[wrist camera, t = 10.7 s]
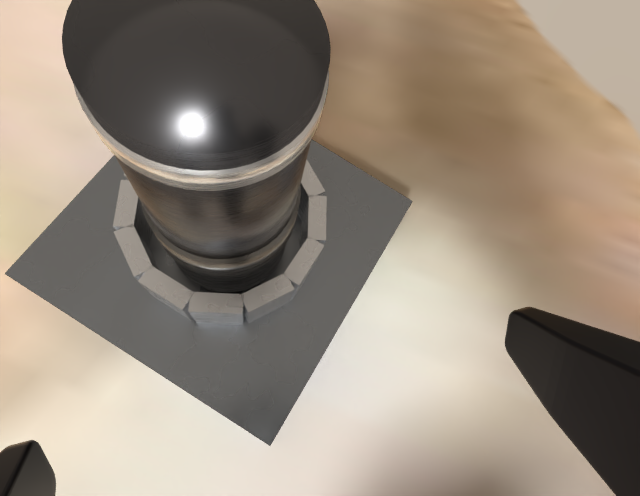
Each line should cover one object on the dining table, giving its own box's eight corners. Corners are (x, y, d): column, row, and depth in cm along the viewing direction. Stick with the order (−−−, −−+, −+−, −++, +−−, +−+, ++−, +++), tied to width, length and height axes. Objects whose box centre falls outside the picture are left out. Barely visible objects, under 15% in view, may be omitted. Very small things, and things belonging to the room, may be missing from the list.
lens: (280, 303, 21) (322, 180, 9) (153, 286, 21) (13, 129, 8) (295, 191, 23) (347, -35, 11) (180, 173, 22) (97, -90, 10)
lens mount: (269, 443, 20) (273, 455, 16) (17, 280, 21) (-40, 252, 17) (405, 209, 25) (435, 173, 21) (197, 82, 26) (187, 22, 21)
